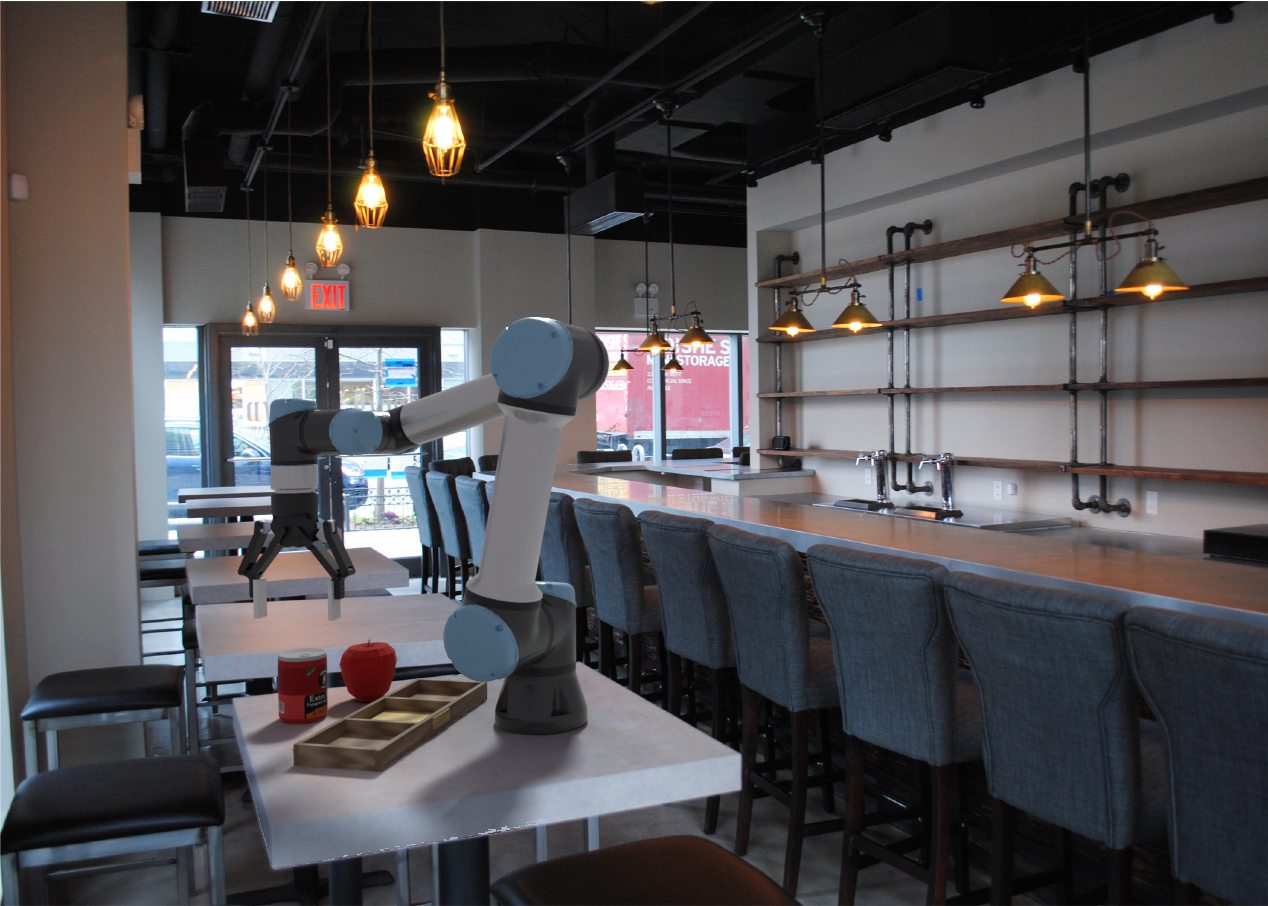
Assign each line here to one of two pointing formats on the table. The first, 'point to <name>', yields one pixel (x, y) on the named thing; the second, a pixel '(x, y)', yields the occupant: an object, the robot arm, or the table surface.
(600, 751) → the table surface
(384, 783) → the table surface
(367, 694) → the apple
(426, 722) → the caddy
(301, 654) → the canned food
